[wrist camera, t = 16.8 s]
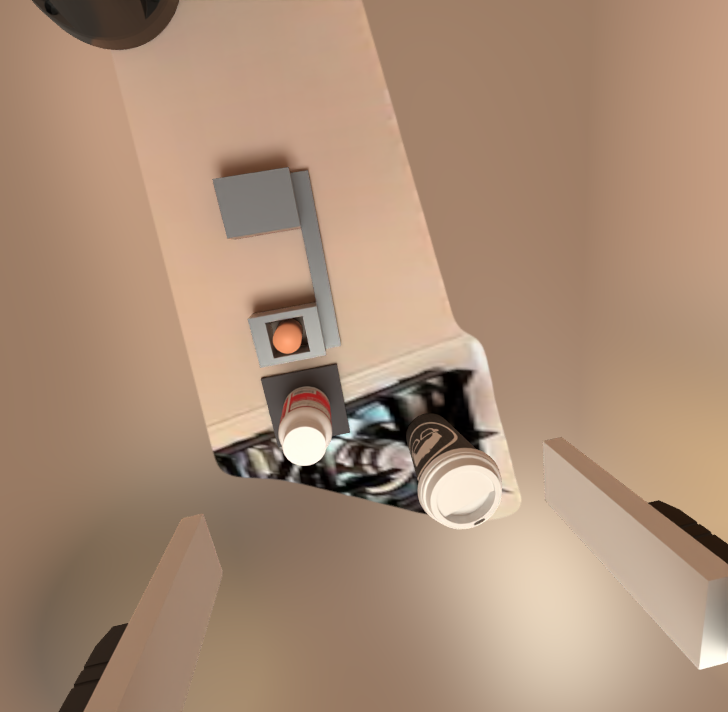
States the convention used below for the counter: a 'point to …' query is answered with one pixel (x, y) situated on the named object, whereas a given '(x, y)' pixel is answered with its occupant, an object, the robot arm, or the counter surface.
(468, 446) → the coffee cup
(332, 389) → the mat
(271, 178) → the housing
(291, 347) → the plunger
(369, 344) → the counter surface
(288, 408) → the pill bottle
